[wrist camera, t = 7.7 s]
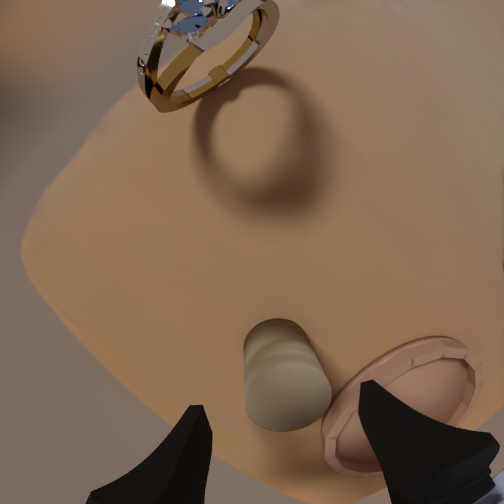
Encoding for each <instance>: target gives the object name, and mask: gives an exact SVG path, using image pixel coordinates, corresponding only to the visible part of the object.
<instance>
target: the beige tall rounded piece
mask: <svg viewBox="0 0 504 504" xmlns="http://www.w3.org/2000/svg"><path fill="white" fill-rule="evenodd" d="M244 385H245V409H246V412H247V414H248V416H249V417H250V419H251V420H252V421H253V422H254V423H255V424H257V425H258V426H260V427H262V428H265V429H267V430H271V431H278V432H287V431H294V430H298V429H301V428H304V427H306V426H308V425H310V424H312V423H314V422H315V421H317V420H318V419H319V418H320V417H321V416H322V415H323V414H324V413H325V412H326V410H327V409H328V407H329V405H330V403H331V399H332V389H331V386H330V384H329V382H328V379H327V377H326V375H325V373H324V371H323V369H322V367H321V365H320V363H319V361H318V359H317V356H316V354H315V352H314V350H313V348H312V346H311V344H310V342H309V340H308V338H307V336H306V334H305V332H304V330H303V329H302V328H301V327H300V326H299V325H298V324H296V323H295V322H293V321H290V320H287V319H282V318H276V319H269V320H266V321H263V322H261V323H259V324H258V325H256V326H255V327H254V328H253V329H252V330H251V331H250V332H249V333H248V335H247V337H246V339H245V342H244Z"/></svg>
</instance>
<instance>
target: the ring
mask: <svg viewBox="0 0 504 504" xmlns="http://www.w3.org/2000/svg"><path fill="white" fill-rule="evenodd" d="M238 2H239V3H238ZM179 13H180V14H181V13H183V14H184V15H185V16H186V17H187V18H185V19H183V20H182V21H180V22H179V23H178V24H177V25H175V24H174V21H175V20H176V18H177V16H178V14H179ZM251 13H253V23H252V27H251V30H250V33H249V35H248V37H247V39H246V40H245V42H244V43H243V45H242V46H241V47H240V49H239V50H238V51H237V52H236V53H235V54H234V55H233V56H232V57H231V58H230V59H229V60H228V61H227V62H225V63H224V64H223V65H222V66H221V65H219V66H217V67H215V68H213V69H212V70H211V71H210V72H209V73H208V76H206V77H205V78H203V79H201V80H200V81H198V82H196V83H194V84H192V85H190V86H188V87H186V88H183V89H181V90H177V91H174V89H175V87H176V86H177V84H178V83H179V81H180V80H181V78H182V77H183V75H184V74H185V73H186V71H187V70H188V68H189V67H190V66H191V64H192V63H193V62H194V60H195V59H196V58H197V57H198V56H199V55H200V54H202V53H203V52H204V51H205V50H208V49H210V48H212V47H214V46H216V45H217V44H219V43H220V42H222V41H223V40H225V39H226V38H227V37H228V36H229V35H230V34H231V33H232V32H233V31H234V30H235V29H236V28H237V27H238V26H239V25H240V24H241V23H242V22H243V21H244V20H245V19H246V17H247V16H248V15H250V14H251ZM279 17H280V12H279V8H278V6H277V4H276V3H275V2H274V1H273V0H164V1H163V2H162V3H161V5H160V6H159V8H158V9H157V11H156V13H155V15H154V16H153V18H152V20H151V22H150V24H149V27H148V29H147V31H146V33H145V36H144V38H143V41H142V44H141V47H140V50H139V54H138V60H137V77H138V83H139V86H140V89H141V90H142V92H143V93H144V95H145V96H146V97H147V99H148V100H149V101H150V102H151V103H152V104H153V105H154V106H155V108H156V109H157V110H158V111H159V112H162V113H168V112H172V111H176V110H179V109H181V108H184V107H186V106H188V105H190V104H192V103H194V102H196V101H197V100H199V99H201V98H203V97H204V96H206V95H207V94H209V93H211V92H212V91H214V90H215V89H217V88H221V87H223V86H225V85H226V84H227V83H229V82H230V81H231V78H232V77H234V76H235V75H236V74H237V73H238V72H240V71H241V70H242V69H243V68H244V67H245V66H246V65H248V64H249V63H250V62H251V61H252V60H253V59H254V58H255V57H256V56H257V54H258V53H259V52H260V51H261V50H262V49H263V48H264V46H265V45H266V44H267V42H268V41H269V40H270V38H271V36H272V35H273V33H274V31H275V30H276V27H277V25H278V22H279ZM222 18H224V19H223V20H222V21H221V22H220V23H219V24H218V25H217V26H215V27H214V28H213V29H212V30H210V31H209V32H208V33H206V34H205V31H206V30H207V29H208V28H209V27H213V26H214V25H215V24H216V23H217V22H218V19H222ZM168 33H170V34H171V35H172V36H174V37H177V38H181V37H182V36H184V37H187V39H186V41H187V43H188V44H189V46H188V47H187V48H186V49H184V50H183V51H182V52H181V53H180V54H179V55H178V56H177V57H176V58H175V59H174V60H173V61H172V62H171V63H170V65H169V66H168V67H167V68H166V69H165V70H164V72H163V73H162V74H161V76H160V77H159V79H158V80H157V72H158V63H159V58H160V54H161V51H162V48H163V45H164V43H165V40H166V38H167V35H168ZM204 34H205V35H204Z"/></svg>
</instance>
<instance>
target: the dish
mask: <svg viewBox="0 0 504 504" xmlns="http://www.w3.org/2000/svg"><path fill="white" fill-rule="evenodd" d="M372 379H373V380H374V381H376V382H377V383H378V384H379V385H381V386H382V387H383V388H385V389H386V390H387V391H388V392H390V393H391V394H392V395H394V396H395V397H396V398H398V399H399V400H401V401H402V402H404V403H405V404H407V405H408V406H410V407H411V408H413V409H415V410H416V411H418V412H420V413H422V414H424V415H426V416H428V417H430V418H432V419H434V420H437V421H439V422H442V423H445V424H448V425H451V426H454V427H457V428H459V427H460V426H461V424H462V423H463V421H464V420H465V419H466V417H467V416H468V414H469V413H470V412H471V410H472V409H473V407H474V405H475V402H476V400H477V397H478V394H479V392H480V389H481V386H482V363H481V362H480V360H479V359H478V358H477V357H476V356H475V355H474V353H473V352H472V351H471V350H470V349H469V348H468V347H467V346H466V345H465V344H463V343H462V342H459V341H457V340H455V339H453V338H450V337H446V336H428V337H423V338H419V339H415V340H413V341H410V342H407V343H404V344H402V345H400V346H398V347H396V348H394V349H392V350H390V351H388V352H387V353H385V354H383V355H381V356H380V357H378V358H377V359H375V360H374V361H372V362H371V363H370V364H368V365H367V366H366V367H364V368H363V369H362V370H361V371H359V372H358V373H357V374H356V375H355V376H354V377H353V378H352V379H351V380H349V382H348V383H347V384H346V385H345V386H344V387H343V388H342V389H341V390H340V391H339V393H338V394H337V395H336V396H335V398H334V399H333V401H332V402H331V404H330V405H329V407H328V409H327V411H326V413H325V415H324V418H323V421H322V424H321V440H322V452H323V456H324V460H325V461H326V462H327V463H328V464H329V465H330V466H331V467H332V468H333V469H334V471H335V472H336V473H339V474H343V475H347V476H351V477H356V478H362V477H372V476H381V475H383V472H382V469H381V466H380V464H379V462H378V460H377V457H376V455H375V453H374V451H373V449H372V447H371V445H370V443H369V441H368V439H367V437H366V435H365V433H364V430H363V428H362V425H361V422H360V418H359V415H358V405H359V395H360V384H361V382H365V381H368V380H372Z"/></svg>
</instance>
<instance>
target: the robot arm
mask: <svg viewBox="0 0 504 504" xmlns="http://www.w3.org/2000/svg"><path fill="white" fill-rule="evenodd" d="M358 415H359V418H360V422H361V425H362V428H363V430H364V433H365V435H366V437H367V439H368V441H369V443H370V445H371V447H372V449H373V451H374V453H375V455H376V457H377V460H378V462H379V464H380V466H381V469H382V472H383V475H384V478H385V481H386V484H387V488H388V491H389V495H390V498H391V503H392V504H504V469H503V470H502V471H500V472H499V473H498V474H496V475H495V476H494V477H493V478H491V477H490V474H491V470H490V468H489V465H490V464H491V463H492V461H493V460H494V458H495V457H496V455H497V453H498V452H499V448H500V445H499V443H498V442H497V441H496V439H495V438H494V437H493V436H492V435H491V434H490V433H487V432H478V431H471V430H466V429H461V428H457V427H454V426H451V425H448V424H445V423H442V422H439V421H437V420H434V419H432V418H430V417H428V416H426V415H424V414H422V413H420V412H418V411H416V410H415V409H413V408H411V407H410V406H408V405H407V404H405V403H404V402H402V401H401V400H399V399H398V398H396V397H395V396H394V395H392V394H391V393H390V392H388V391H387V390H386V389H385V388H383V387H382V386H381V385H379V384H378V383H377V382H376V381H374V380H373V379H372V380H368V381H365V382H361V384H360V395H359V405H358ZM212 434H213V433H212V430H211V427H210V425H209V422H208V419H207V416H206V413H205V410H204V407H203V405H190V406H189V407H188V408H187V410H186V411H185V413H184V414H183V416H182V417H181V418H180V420H179V421H178V423H177V424H176V425H175V427H174V428H173V429H172V431H171V432H170V433H169V435H168V436H167V437H166V438H165V439H164V440H163V442H162V443H161V444H160V445H159V446H158V447H157V448H156V449H155V450H154V452H153V453H152V454H150V455H149V456H148V457H147V458H146V459H145V460H144V461H143V462H141V463H140V464H139V465H138V466H136V467H135V468H134V469H132V470H131V471H130V472H128V473H127V474H126V475H124V476H122V477H120V478H119V479H117V480H115V481H113V482H111V483H109V484H107V485H105V486H103V487H100V488H98V489H96V490H93V491H92V492H91V493H90V495H89V497H88V499H87V502H86V504H204V497H205V496H204V495H205V487H206V482H207V476H208V471H209V465H210V460H211V454H212Z"/></svg>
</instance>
